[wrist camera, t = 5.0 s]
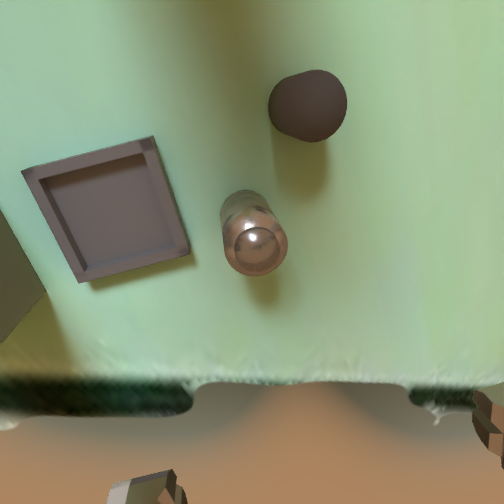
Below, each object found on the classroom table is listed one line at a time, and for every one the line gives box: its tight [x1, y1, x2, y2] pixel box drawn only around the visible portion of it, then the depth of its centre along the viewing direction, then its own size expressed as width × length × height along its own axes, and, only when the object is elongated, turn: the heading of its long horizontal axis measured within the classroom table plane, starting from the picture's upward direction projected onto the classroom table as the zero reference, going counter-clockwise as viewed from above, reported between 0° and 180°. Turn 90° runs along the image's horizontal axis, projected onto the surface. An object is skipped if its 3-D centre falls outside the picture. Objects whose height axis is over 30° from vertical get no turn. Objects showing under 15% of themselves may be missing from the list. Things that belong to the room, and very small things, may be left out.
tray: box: [21, 136, 191, 283], centre depth 26 cm, size 9×9×2 cm
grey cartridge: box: [220, 190, 288, 276], centre depth 25 cm, size 4×4×8 cm
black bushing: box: [268, 70, 347, 142], centre depth 23 cm, size 4×4×5 cm
